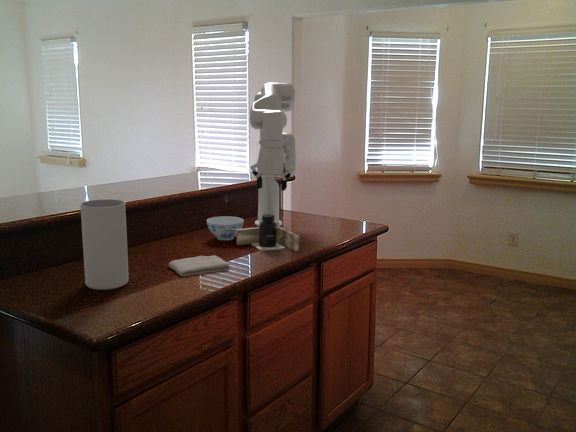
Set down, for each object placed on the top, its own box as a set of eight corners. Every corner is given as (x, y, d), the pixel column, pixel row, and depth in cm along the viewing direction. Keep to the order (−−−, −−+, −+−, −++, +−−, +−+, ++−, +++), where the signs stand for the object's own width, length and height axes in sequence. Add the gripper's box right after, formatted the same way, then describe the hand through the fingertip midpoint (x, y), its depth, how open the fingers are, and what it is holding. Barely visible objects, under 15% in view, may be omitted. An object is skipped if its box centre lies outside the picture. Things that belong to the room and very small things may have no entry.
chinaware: (246, 234, 223) (246, 217, 221) (239, 244, 208) (240, 225, 207) (211, 233, 224) (211, 215, 223) (202, 242, 210) (202, 223, 208)
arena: (236, 244, 208) (236, 229, 207) (277, 239, 216) (277, 225, 215) (254, 256, 192) (255, 240, 191) (298, 250, 200) (298, 235, 199)
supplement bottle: (268, 248, 201) (269, 217, 198) (255, 245, 205) (255, 215, 203) (279, 245, 206) (280, 215, 204) (266, 242, 210) (267, 212, 208)
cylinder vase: (113, 274, 169) (109, 197, 164) (137, 283, 162) (133, 203, 156) (77, 283, 160) (72, 203, 155) (100, 293, 152) (95, 209, 147)
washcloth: (231, 270, 177) (231, 261, 177) (181, 279, 168) (181, 269, 167) (216, 261, 187) (216, 252, 186) (168, 268, 178) (167, 259, 177)
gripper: (247, 144, 198) (247, 189, 202) (290, 146, 192) (289, 192, 196) (254, 142, 205) (254, 186, 208) (297, 144, 199) (296, 189, 203)
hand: (271, 189), depth 202 cm, fingers open, 9 cm apart
